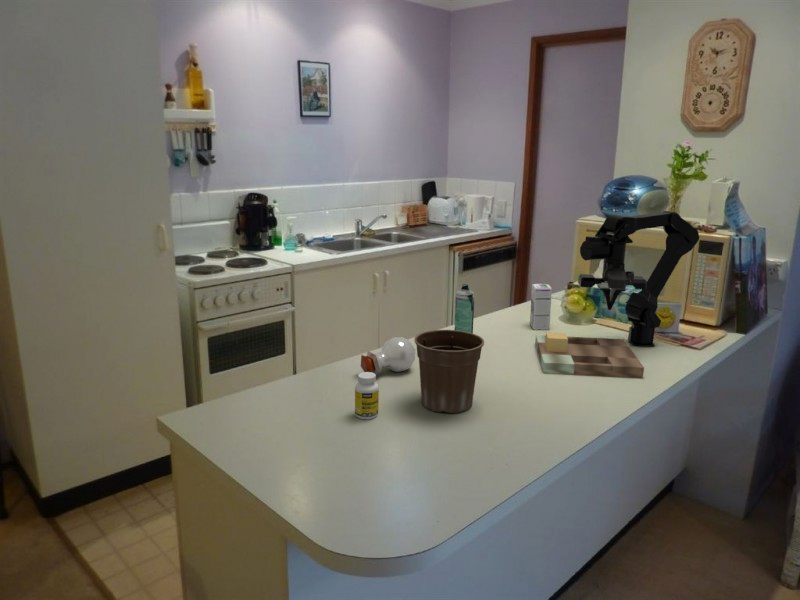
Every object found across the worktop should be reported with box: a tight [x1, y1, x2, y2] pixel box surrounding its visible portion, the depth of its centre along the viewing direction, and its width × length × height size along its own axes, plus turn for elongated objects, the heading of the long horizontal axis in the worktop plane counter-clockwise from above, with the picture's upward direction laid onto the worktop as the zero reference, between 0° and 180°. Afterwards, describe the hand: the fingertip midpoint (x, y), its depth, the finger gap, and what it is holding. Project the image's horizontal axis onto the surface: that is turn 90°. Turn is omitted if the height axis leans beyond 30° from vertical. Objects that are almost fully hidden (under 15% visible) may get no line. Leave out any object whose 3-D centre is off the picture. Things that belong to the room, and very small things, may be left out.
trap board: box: [534, 334, 645, 379], centre depth 177 cm, size 26×24×3 cm
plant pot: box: [413, 329, 485, 414], centre depth 146 cm, size 16×16×16 cm
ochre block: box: [544, 331, 568, 353], centre depth 177 cm, size 6×6×4 cm
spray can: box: [453, 283, 475, 334], centre depth 183 cm, size 6×6×20 cm
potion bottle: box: [360, 336, 417, 376], centre depth 166 cm, size 9×10×15 cm
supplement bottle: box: [354, 371, 380, 420], centre depth 141 cm, size 5×5×10 cm
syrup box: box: [529, 283, 553, 331], centre depth 206 cm, size 6×6×14 cm
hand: (609, 309), depth 185 cm, fingers closed
